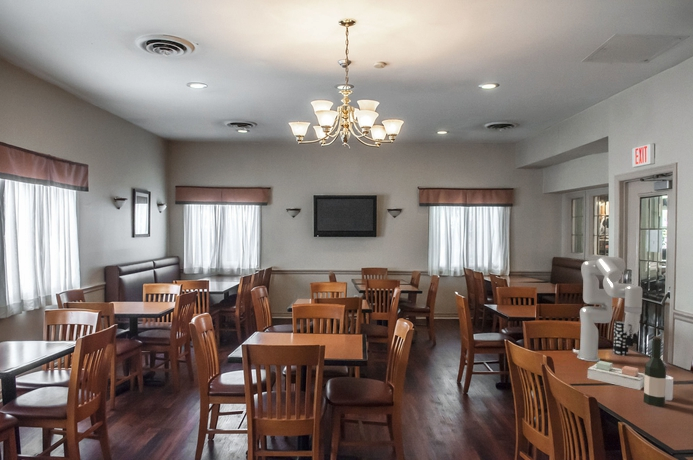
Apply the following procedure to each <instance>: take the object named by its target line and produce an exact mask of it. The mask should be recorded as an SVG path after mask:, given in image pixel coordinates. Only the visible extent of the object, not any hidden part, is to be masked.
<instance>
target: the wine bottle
mask: <svg viewBox="0 0 693 460" xmlns="http://www.w3.org/2000/svg"><path fill="white" fill-rule="evenodd" d="M651 340H652V341H651V342H652V343H651V346H652V347H651V357H650V359H648V361H647V362H646V363H645V365H644V374H645V380H644V387H643V403H645V404H647V405H650V406H655V407H665V406H666V405H665V404H666V400H665V389H666V375H667V366H666V365H665V363H664V361H663V360H662V358H661V354H662V349H661V348H662V339H661V337H660V336H657V335H656V336H655V335H654V336H653V337H652V339H651Z"/></svg>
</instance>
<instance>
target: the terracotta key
mask: <svg viewBox="0 0 693 460" xmlns="http://www.w3.org/2000/svg"><path fill="white" fill-rule="evenodd" d="M621 369H622V374H625V375H630V376H634V377H636V376H637V375H638V372H639V368H637V367H633V366H628V365H624V366H623V367H621Z"/></svg>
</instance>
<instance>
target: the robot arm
mask: <svg viewBox="0 0 693 460" xmlns="http://www.w3.org/2000/svg"><path fill="white" fill-rule="evenodd" d="M580 269H581V270H580V271H581V277H582V280H583V284H582V286H583V287H582V288H583V289H582V299H583V302H584V303H585V304H587V306H583V307H582V308H580V310H579V319H580V346H579V349H574V348H573V349H572V353H574V354H577V355H576V358H577V359H579V360H581V361H586V362H595V363H597V362H599V361H601V358H600V357H599V356H598V355H599V353H598V352H599V351H598V350H599V329H598V328H599V327H597V325H596V324H597V323H598V324H610V322H611V321H612V318H613V298H615V299H620V298H621V299H624V307H623V308H624V311H623V312H624V313H625V315H624V322H625V323H624V332H627V333H626V346H628V347H633V346H634V344H638V339H639V336H638V335H639V334H638V332H639V331H640V315H642V311H643V310H642V309H643V308H642V307H643V288H642V287H641V286H639V285H635V284H632V283H618V281H620V280H621V278H622V276H623V272H624V271H625V270H626V262H625V260H624V258H622V257H617V256H602V257H599V258H598V259H597V260H594V259H593V260H586V261H583V263H581V268H580ZM597 276H603V279H602V280H603V281H602V286H603V288H600V280H599V279H598V277H597ZM588 305H590V306H588ZM591 305H599V306H591Z"/></svg>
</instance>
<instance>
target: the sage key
mask: <svg viewBox="0 0 693 460" xmlns="http://www.w3.org/2000/svg"><path fill="white" fill-rule="evenodd" d="M596 364H597V365H596V369H601V370H606V371H610V370H611V369H612V367H613V362H608V361H603V360H600V361H597V362H596Z"/></svg>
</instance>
